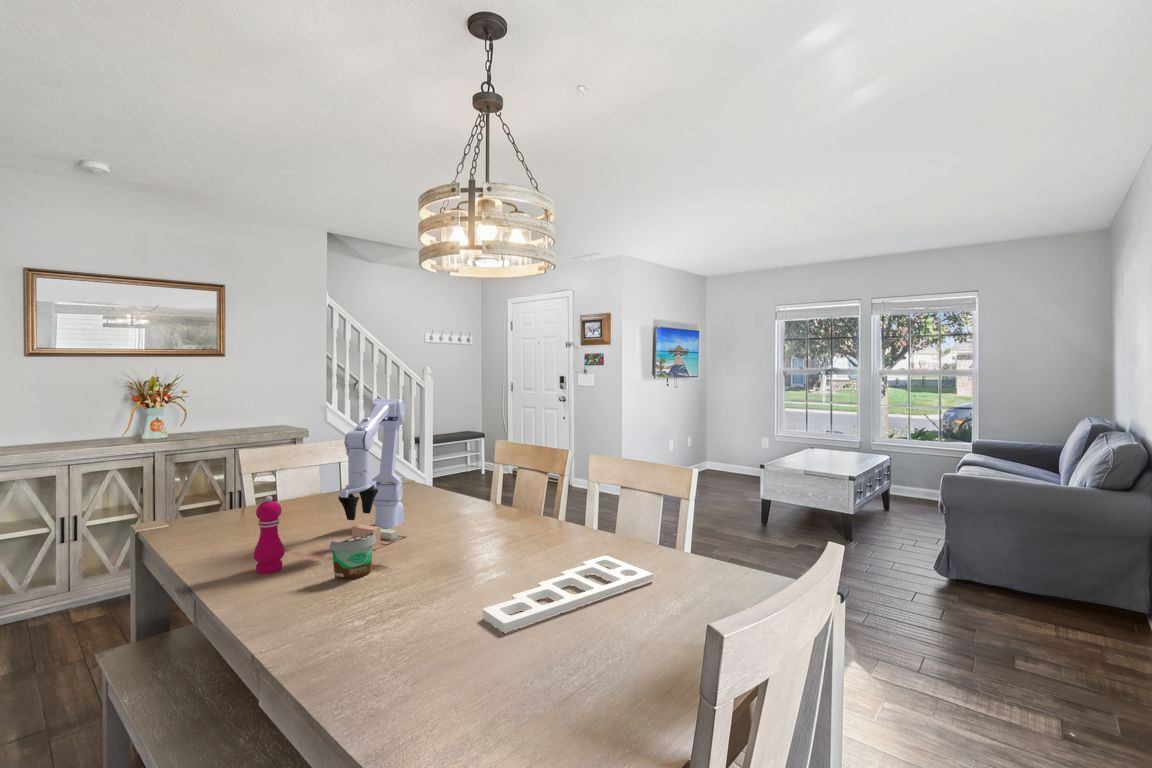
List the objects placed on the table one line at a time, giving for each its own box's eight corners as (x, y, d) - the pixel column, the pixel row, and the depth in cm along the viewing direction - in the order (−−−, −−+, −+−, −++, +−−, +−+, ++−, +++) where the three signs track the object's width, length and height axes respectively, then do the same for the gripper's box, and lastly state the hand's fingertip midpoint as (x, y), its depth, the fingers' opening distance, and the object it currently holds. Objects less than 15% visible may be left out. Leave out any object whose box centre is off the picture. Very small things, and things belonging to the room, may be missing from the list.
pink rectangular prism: (359, 547, 169) (359, 524, 169) (380, 550, 166) (380, 527, 166) (352, 549, 167) (352, 526, 167) (373, 553, 164) (373, 529, 164)
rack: (377, 536, 180) (377, 532, 179) (407, 541, 175) (407, 536, 175) (341, 550, 166) (341, 545, 166) (373, 556, 161) (373, 551, 161)
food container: (342, 585, 139) (342, 546, 139) (329, 579, 143) (329, 541, 143) (385, 571, 149) (385, 534, 149) (372, 566, 153) (372, 530, 152)
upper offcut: (379, 534, 177) (379, 528, 177) (397, 536, 174) (397, 530, 174) (372, 537, 174) (372, 530, 174) (391, 539, 172) (391, 533, 172)
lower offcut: (377, 540, 177) (377, 534, 177) (399, 543, 174) (399, 537, 174) (370, 543, 174) (370, 536, 174) (393, 546, 171) (393, 540, 171)
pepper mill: (271, 575, 146) (270, 499, 145) (247, 573, 147) (246, 498, 146) (290, 566, 153) (290, 493, 152) (267, 564, 154) (267, 492, 154)
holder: (504, 636, 114) (504, 623, 114) (462, 607, 128) (462, 595, 128) (653, 584, 143) (653, 573, 143) (605, 564, 157) (606, 555, 157)
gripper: (361, 466, 173) (362, 509, 174) (330, 474, 159) (331, 521, 160) (382, 467, 172) (382, 510, 172) (352, 476, 157) (352, 523, 158)
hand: (359, 516), depth 166 cm, fingers open, 7 cm apart
